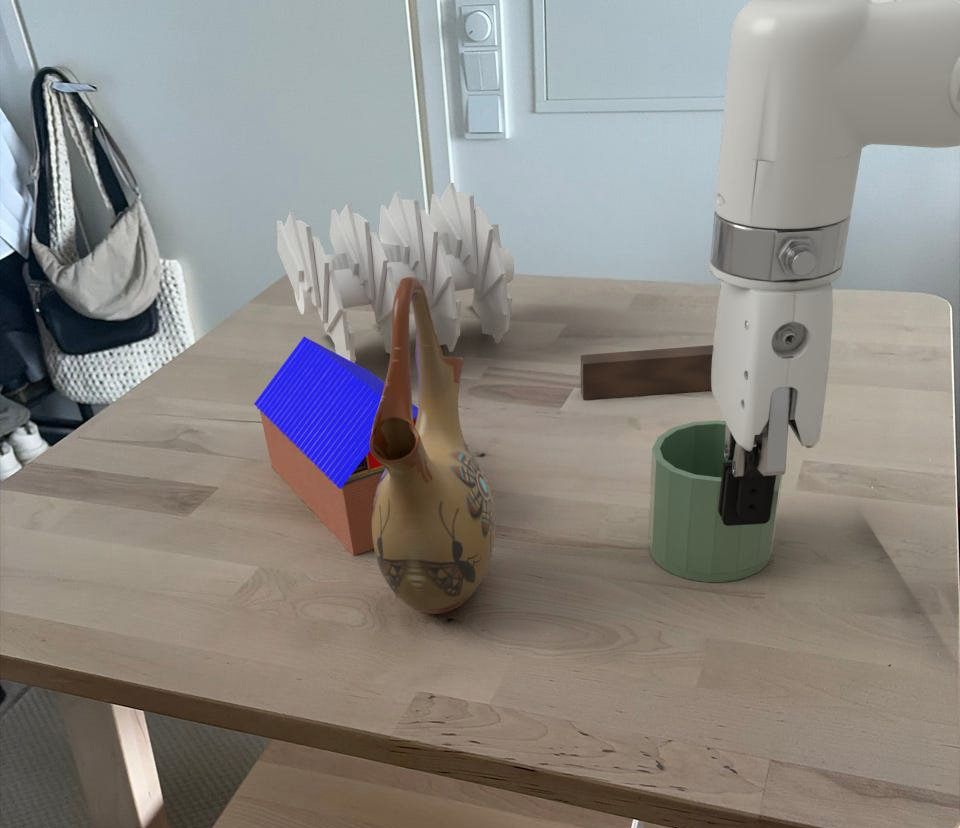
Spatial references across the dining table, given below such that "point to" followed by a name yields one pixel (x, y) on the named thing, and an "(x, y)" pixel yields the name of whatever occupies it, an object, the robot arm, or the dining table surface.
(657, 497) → the bucket
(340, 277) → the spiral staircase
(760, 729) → the dining table surface
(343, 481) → the house
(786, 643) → the dining table surface
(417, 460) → the ceramic vessel
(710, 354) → the block
